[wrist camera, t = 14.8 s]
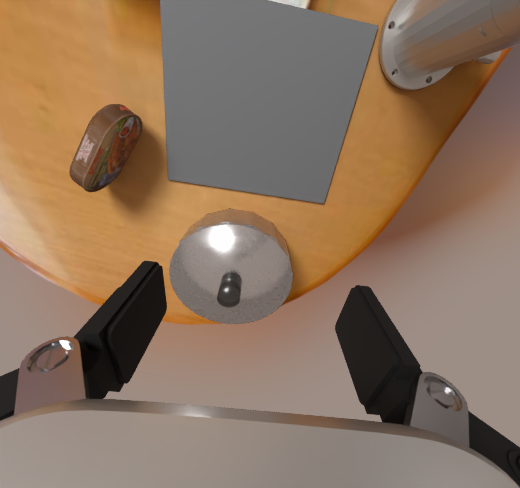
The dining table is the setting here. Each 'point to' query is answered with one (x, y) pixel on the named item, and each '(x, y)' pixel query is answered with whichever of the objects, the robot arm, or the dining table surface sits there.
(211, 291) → the lidded metal pot
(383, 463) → the robot arm
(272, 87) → the rubber mat
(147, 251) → the dining table surface
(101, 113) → the tin
